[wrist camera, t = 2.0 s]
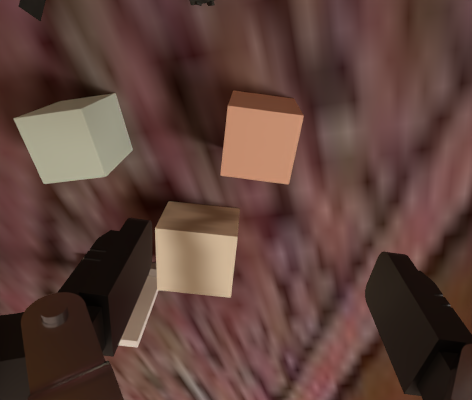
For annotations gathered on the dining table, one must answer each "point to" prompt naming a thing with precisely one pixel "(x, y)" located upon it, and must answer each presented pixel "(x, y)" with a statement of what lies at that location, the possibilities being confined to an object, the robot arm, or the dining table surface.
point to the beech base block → (196, 248)
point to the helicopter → (34, 3)
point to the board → (141, 311)
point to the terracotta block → (261, 137)
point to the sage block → (76, 138)
